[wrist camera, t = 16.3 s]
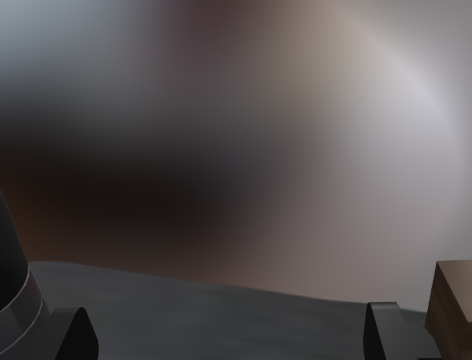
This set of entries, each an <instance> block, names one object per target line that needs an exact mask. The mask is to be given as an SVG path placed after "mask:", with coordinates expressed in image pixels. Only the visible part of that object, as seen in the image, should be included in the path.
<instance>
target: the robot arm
mask: <svg viewBox="0 0 472 360" xmlns="http://www.w3.org/2000/svg"><path fill="white" fill-rule="evenodd" d="M363 348H364V356H365V360H442V357H441V355H440V352H439V350H438V347H437V345H436V342H435V340H434V338H433V337H432V336H431V335H430V334H429V333H428V331H427V330H426V329H425V328H424V327H423V326H422V325H421V324H420V322H404V319H403V316H402V313H401V311H400V308H399V306H398V304H397V303H396V302H370V303H368V304H367V309H366V318H365V327H364V336H363ZM98 353H99V345H98V340H97V337H96V335H95V332H94V329H93V327H92V324H91V322H90V319H89V317H88V314H87V312H86V310H85V309H84V308H83V307H73V308H56V309H55V310H54V311H53V312H52V314H51V313H50V311H49V309H48V307H47V304H46V302H45V300H44V298H43V295H42V293H41V291H40V289H39V287H38V284H37V282H36V280H35V278H34V275H33V273H32V271H31V269H30V266H29V264H28V262H27V259H26V257H25V256H24V253H23V251H22V248H21V245H20V242H19V238H18V236H17V232H16V229H15V225H14V222H13V219H12V217H11V214H10V211H9V209H8V206H7V204H6V202H5V199H4V197H3V194H2V192H1V190H0V360H97V359H98Z"/></svg>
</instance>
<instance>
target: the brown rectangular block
mask: <svg viewBox="0 0 472 360" xmlns="http://www.w3.org/2000/svg"><path fill="white" fill-rule="evenodd" d="M424 328H425V329H426V330H427V331H428V333H429V334H430V335H431V336H432V337H433V338H434V340H435V342H436V345H437V347H438V350H439V352H440V355H441V357H442V360H472V260H455V261H437V263H436V269H435V274H434V279H433V285H432V289H431V294H430V300H429V305H428V310H427V316H426V321H425V326H424Z"/></svg>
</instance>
